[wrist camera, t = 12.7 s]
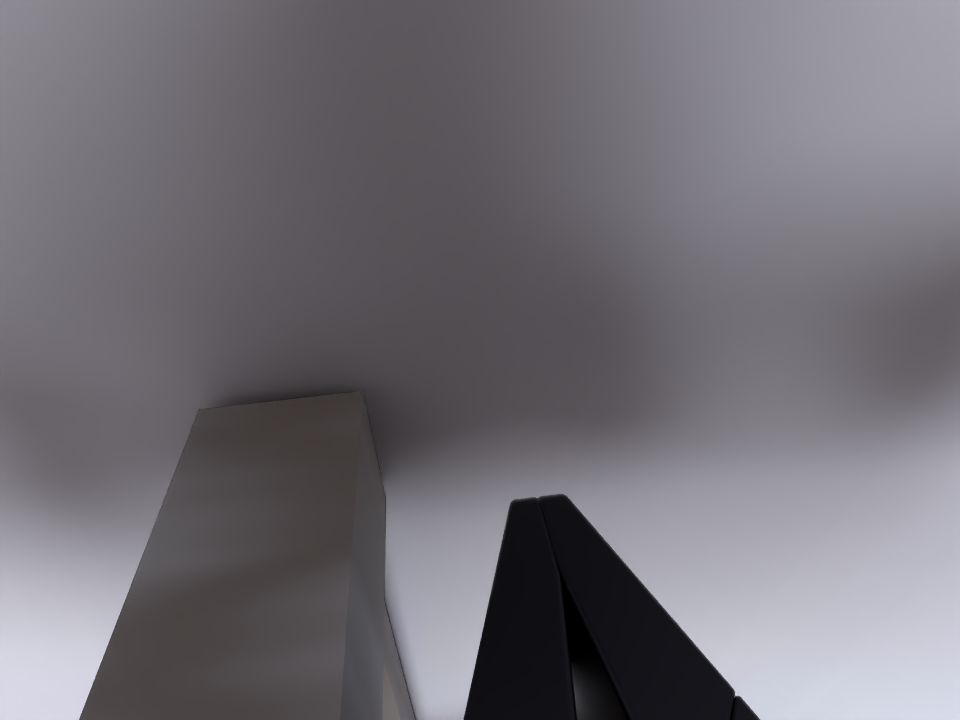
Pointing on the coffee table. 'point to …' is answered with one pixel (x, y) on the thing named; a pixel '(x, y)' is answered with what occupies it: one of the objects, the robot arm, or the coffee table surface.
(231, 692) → the shallow wooden box
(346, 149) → the coffee table surface
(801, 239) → the coffee table surface
